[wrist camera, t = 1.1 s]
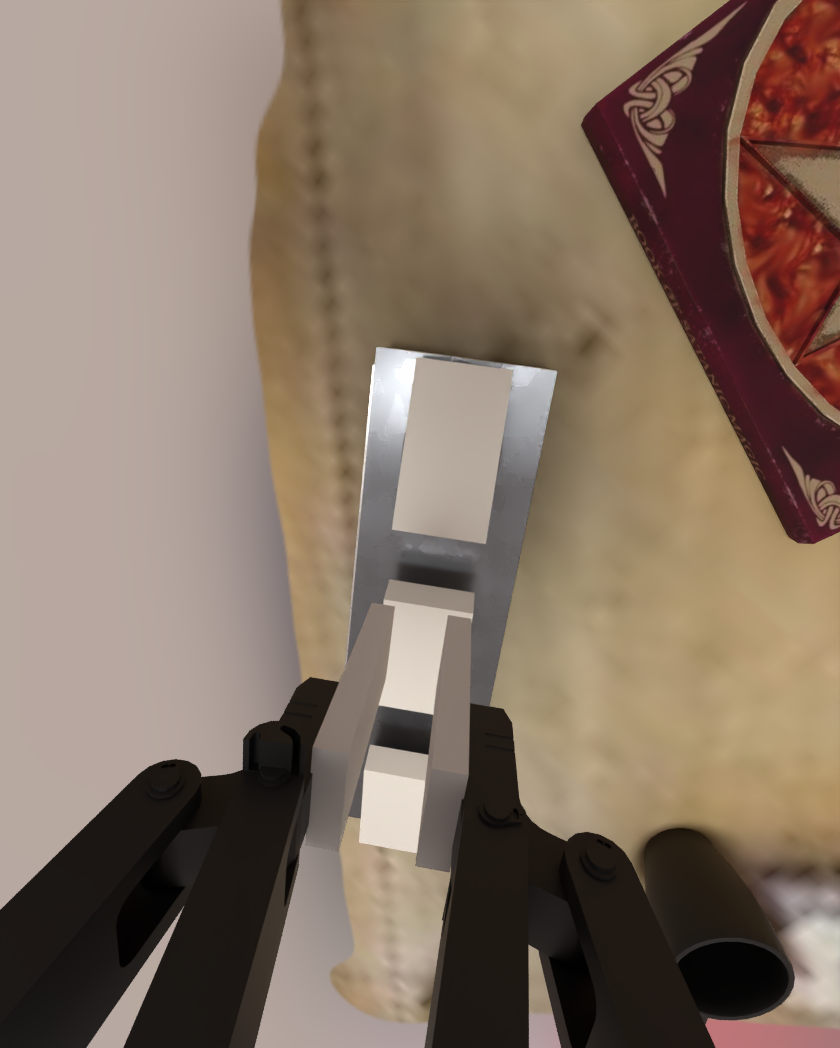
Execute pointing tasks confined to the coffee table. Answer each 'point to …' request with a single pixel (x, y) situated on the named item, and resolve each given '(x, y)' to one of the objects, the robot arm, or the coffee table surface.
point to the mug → (715, 928)
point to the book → (748, 227)
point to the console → (440, 557)
